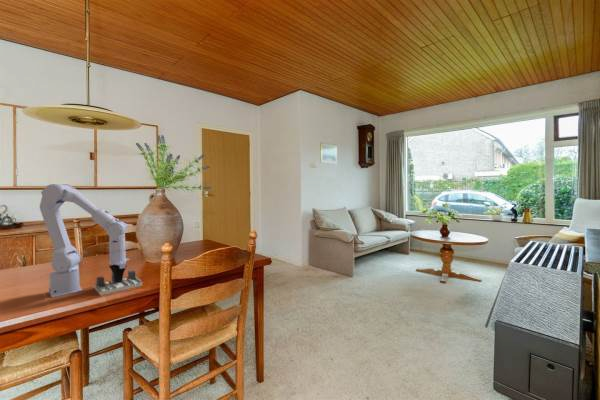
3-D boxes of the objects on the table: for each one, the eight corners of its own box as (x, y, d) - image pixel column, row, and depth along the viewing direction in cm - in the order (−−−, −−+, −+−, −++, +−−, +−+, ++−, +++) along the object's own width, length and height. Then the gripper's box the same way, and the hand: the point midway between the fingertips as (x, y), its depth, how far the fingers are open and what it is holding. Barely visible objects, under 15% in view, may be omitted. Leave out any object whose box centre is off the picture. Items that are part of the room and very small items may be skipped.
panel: (100, 295, 109) (100, 283, 109) (94, 288, 117) (93, 276, 117) (142, 285, 120) (142, 274, 120) (133, 279, 128) (133, 269, 128)
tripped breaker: (113, 283, 118) (113, 273, 118) (111, 281, 120) (111, 272, 120) (121, 281, 120) (121, 272, 120) (119, 280, 122) (119, 270, 122)
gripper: (133, 251, 115) (134, 283, 116) (123, 245, 125) (124, 275, 126) (113, 254, 110) (114, 287, 111) (104, 248, 120) (105, 279, 121)
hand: (118, 281), depth 118 cm, fingers closed
